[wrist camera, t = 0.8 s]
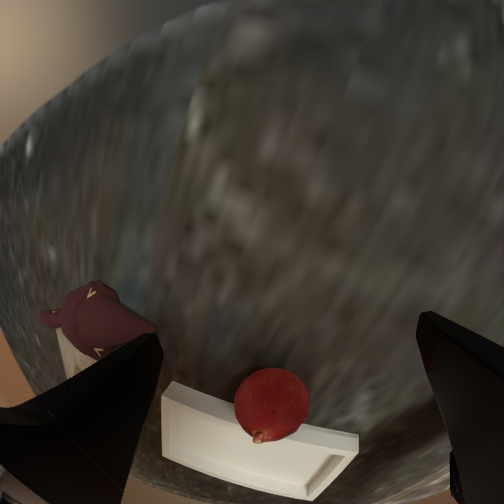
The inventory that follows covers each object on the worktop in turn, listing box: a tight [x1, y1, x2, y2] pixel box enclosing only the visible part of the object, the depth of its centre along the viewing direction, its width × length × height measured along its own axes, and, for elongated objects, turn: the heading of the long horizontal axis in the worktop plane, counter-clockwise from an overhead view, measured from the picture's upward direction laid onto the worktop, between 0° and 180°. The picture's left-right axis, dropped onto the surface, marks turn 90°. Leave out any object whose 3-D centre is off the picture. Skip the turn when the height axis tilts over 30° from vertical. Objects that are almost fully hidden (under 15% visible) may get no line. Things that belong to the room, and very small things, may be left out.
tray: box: [161, 381, 359, 501], centre depth 26 cm, size 20×13×2 cm, turn 78°
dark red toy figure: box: [39, 281, 158, 361], centre depth 23 cm, size 7×7×15 cm
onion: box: [234, 367, 309, 444], centre depth 20 cm, size 6×6×8 cm
